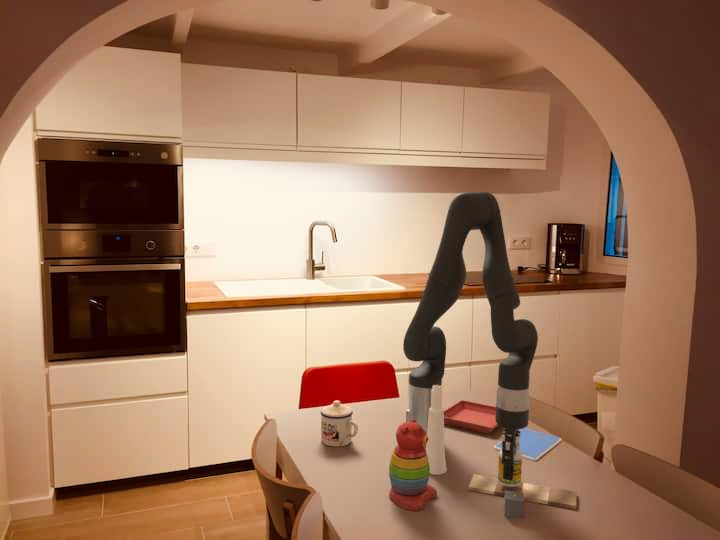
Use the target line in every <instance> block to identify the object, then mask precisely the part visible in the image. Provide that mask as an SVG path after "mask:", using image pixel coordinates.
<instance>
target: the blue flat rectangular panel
mask: <svg viewBox="0 0 720 540" xmlns="http://www.w3.org/2000/svg"><path fill="white" fill-rule="evenodd" d="M519 431H521V435H520V439H519V444H520V449H519V452H520V453H521V454H522V459H526V460H529V461H532V462H537V461H538V460H540V458H542V457H543V456H544V455H545V454H547V453H548V452H549V451H550V450H552V449H553V448H554V447H555V446H557V445H559V444H560V443H561V442H562V438H561V437H558V436H554V435H552V434H547V433H543V432H540V431H536V430H532V429H528V428H527V427H525V428H523V429H519ZM493 449H494V450H496V451H498V452H500V450H502V441H500V442H498V443H497V444H495V445H494V447H493Z"/></svg>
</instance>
